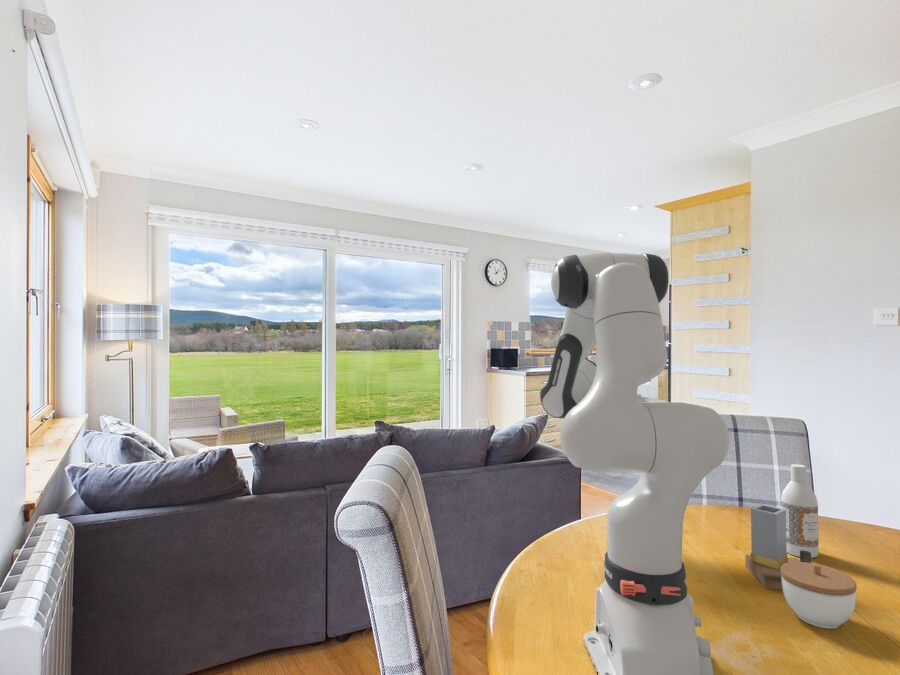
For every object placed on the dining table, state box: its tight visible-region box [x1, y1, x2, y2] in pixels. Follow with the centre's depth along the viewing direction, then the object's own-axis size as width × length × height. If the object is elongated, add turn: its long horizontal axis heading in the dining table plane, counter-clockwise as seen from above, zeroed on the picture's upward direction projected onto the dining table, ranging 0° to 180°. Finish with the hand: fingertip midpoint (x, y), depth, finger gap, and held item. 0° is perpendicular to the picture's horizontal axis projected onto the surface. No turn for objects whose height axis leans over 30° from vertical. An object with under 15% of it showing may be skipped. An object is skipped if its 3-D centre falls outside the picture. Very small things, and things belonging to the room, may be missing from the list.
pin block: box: [744, 550, 812, 591], centre depth 101 cm, size 10×10×6 cm
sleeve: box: [750, 503, 789, 569], centre depth 104 cm, size 5×5×11 cm
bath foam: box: [780, 463, 820, 559], centre depth 114 cm, size 7×7×20 cm
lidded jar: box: [780, 562, 858, 630], centre depth 87 cm, size 11×11×9 cm
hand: (668, 414), depth 115 cm, fingers open, 8 cm apart
